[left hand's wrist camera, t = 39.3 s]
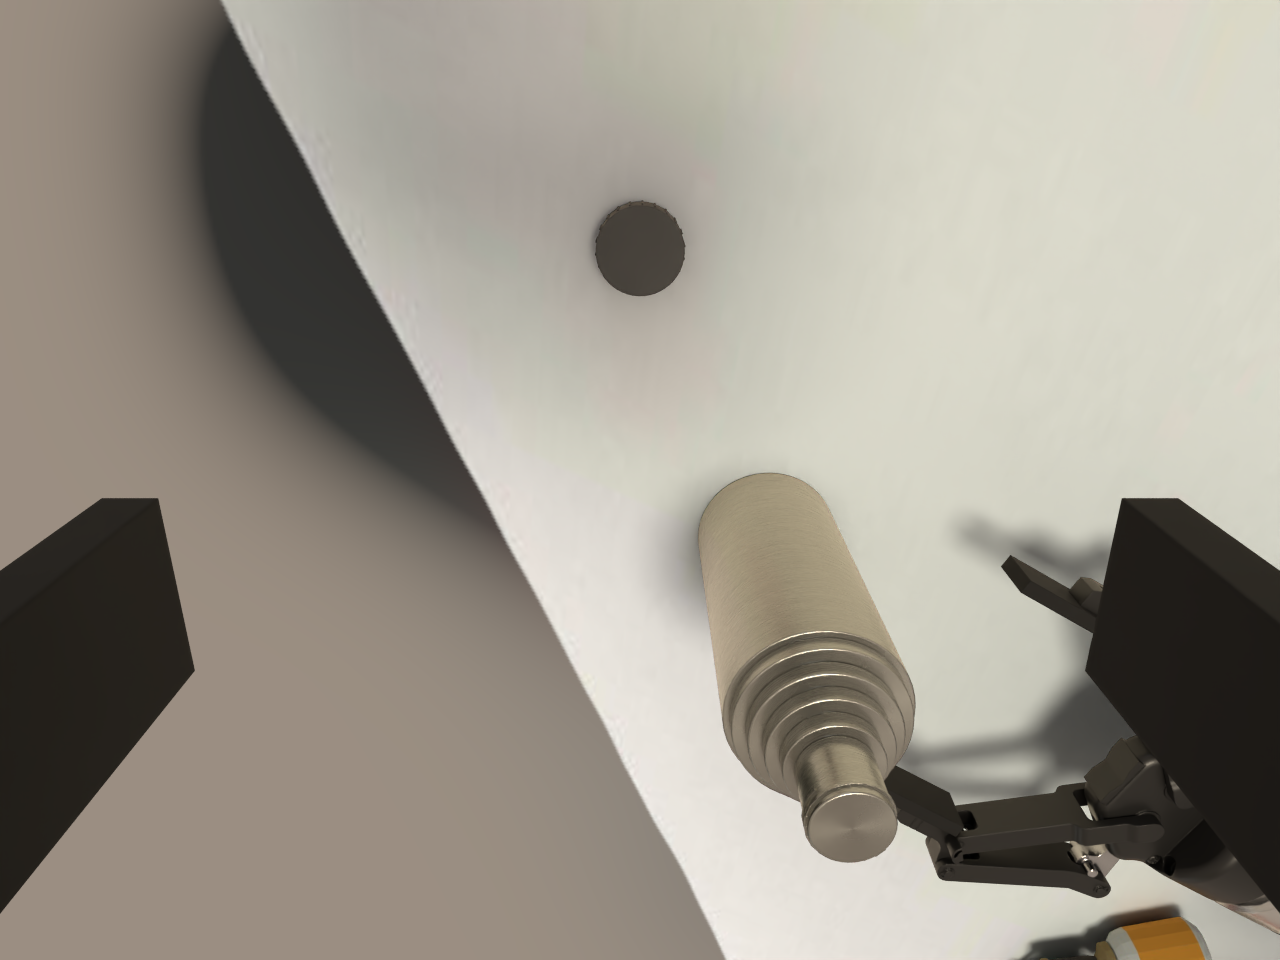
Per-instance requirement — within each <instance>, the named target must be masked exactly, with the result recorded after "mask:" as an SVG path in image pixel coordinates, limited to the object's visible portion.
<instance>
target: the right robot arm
mask: <svg viewBox="0 0 1280 960" xmlns="http://www.w3.org/2000/svg"><path fill="white" fill-rule="evenodd" d="M1001 567H1002V568H1003V570H1004V571H1005V572H1006V574H1007V575H1008V576H1009V578H1010V579H1011V580H1012V582H1013V583H1014V584H1015V586H1016V587H1017V588H1018V589H1019V591H1020V592H1021V593H1023V594H1024V595H1026V596H1028V597H1030V598H1031V599H1033V600H1035V601H1037V602H1039V603H1040V604H1042V605H1044V606H1046V607H1047V608H1049V609H1051V610H1053V611H1054V612H1056V613H1058V614H1060V615H1062V616H1063V617H1065V618H1067V619H1069V620H1070V621H1072V622H1074V623H1076V624H1077V625H1079V626H1081V627H1083V628H1085V629H1086V630H1088V631H1090V632H1092V633H1093V632H1094V627H1095V622H1096V618H1097V613H1098V608H1099V604H1100V599H1101V594H1102V590H1103V585H1102V584H1100V583H1098V582H1096V581H1095V580H1093V579H1091V578H1084V577H1080V579H1079V580H1078V581H1077V582H1076V583H1075V584H1074V586H1073V587H1072V588H1071V589H1069V588H1067V587H1065V586H1063V585H1062V584H1060V583H1058V582H1056V581H1055V580H1053V579H1051V578H1049V577H1048V576H1046V575H1044V574H1042V573H1041V572H1039V571H1037V570H1035V569H1034V568H1032V567H1030V566H1028V565H1027V564H1025V563H1023V562H1021V561H1020V560H1018V559H1016V558H1014V557H1013V556H1011V555H1010V556H1009V558H1008V559H1007V560H1006V561H1005V562H1004V564H1003V565H1002V566H1001ZM1084 778H1085V779H1086V781H1087V782H1084V783H1076V784H1069V785H1062V786H1059V787H1057V789H1056V792H1054V793H1049V794H1042V795H1034V796H1026V797H1019V798H1011V799H1003V800H995V801H988V802H980V803H972V804H964V805H957V806H955V805H954V802H953V800H952V798H951V795H950V793H949V792H947V791H945V790H943V789H941V788H939V787H937V786H935V785H933V784H931V783H929V782H927V781H925V780H923V779H921V778H919V777H917V776H915V775H913V774H911V773H909V772H907V771H905V770H903V769H901V768H899V767H897V766H895V767H894V768H893V769H892V771H891V772H890V773H889V775H888V777H887V778H886V779H885V780H884V783H885V786H886V789H887V791H888V794H889V795H890V796H891V797H892V799H893V801H894V803H895V805H896V810H897V819H898V820H899V822H900V823H902V824H904V825H906V826H908V827H910V828H912V829H914V830H916V831H918V832H920V833H922V834H924V835H926V836H927V838H926V846H927V848H928V851H929V854H930V856H931V859H932V862H933V864H934V867H935V870H936V873H937V875H938V877H939V878H940V879H942V880H945V881H959V882H976V883H992V884H1009V885H1026V886H1043V887H1060V888H1070V889H1072V890H1075V891H1078V892H1081V893H1083V894H1086V895H1089V896H1091V897H1095V898H1102V897H1104V896H1106V895H1108V894H1109V892H1110V891H1111V887H1110V885H1109V883H1108V882H1107V880H1106V878H1105V876H1106V875H1107V874H1108V872H1109V871H1110V870H1111V869H1112V868H1113V866H1114V865H1115V864H1116V863H1117V862H1118V860H1119V859H1123V860H1137V861H1142V862H1144V863H1146V864H1147V865H1149V866H1150V867H1152V868H1153V869H1155V870H1156V871H1158V872H1159V873H1161V874H1163V875H1164V876H1166V877H1168V878H1170V879H1172V880H1174V881H1175V882H1177V883H1179V884H1181V885H1183V886H1185V887H1187V888H1189V889H1191V890H1193V891H1195V892H1197V893H1199V894H1201V895H1203V896H1205V897H1207V898H1209V899H1211V900H1214V901H1215V902H1216V903H1218V904H1220V905H1222V906H1224V907H1226V908H1228V909H1230V910H1232V911H1234V912H1236V913H1238V914H1240V915H1242V916H1244V917H1246V918H1248V919H1250V920H1252V921H1254V922H1256V923H1258V924H1259V925H1261V926H1263V927H1265V928H1267V929H1269V930H1271V931H1273V932H1275V933H1277V934H1279V935H1280V913H1279V912H1278V911H1277V909H1276V908H1275V907H1274V906H1273V904H1272V903H1271V902H1270V901H1269V899H1268V898H1267V897H1266V896H1265V894H1264V893H1263V892H1262V891H1261V889H1260V888H1259V887H1258V886H1257V884H1256V883H1255V882H1254V881H1253V879H1252V878H1251V877H1250V876H1249V874H1248V873H1247V872H1246V871H1245V869H1244V868H1243V867H1242V866H1241V864H1240V863H1239V862H1238V861H1237V859H1236V858H1235V857H1234V856H1233V854H1232V853H1231V852H1230V851H1229V849H1228V848H1227V847H1226V846H1225V844H1224V843H1223V842H1222V841H1221V840H1220V838H1219V837H1218V836H1217V835H1216V833H1215V832H1214V831H1213V830H1212V828H1211V827H1210V826H1209V825H1208V823H1207V822H1206V821H1205V820H1204V818H1203V817H1202V816H1201V815H1200V813H1199V812H1198V811H1197V810H1196V808H1195V807H1194V806H1193V805H1192V803H1191V802H1190V801H1189V800H1188V798H1187V797H1186V796H1185V795H1184V793H1183V792H1182V791H1181V790H1180V788H1179V787H1178V786H1177V785H1176V783H1175V782H1174V781H1173V780H1172V778H1171V777H1170V776H1169V775H1168V773H1167V772H1166V771H1165V770H1164V768H1163V767H1162V766H1161V765H1160V763H1159V762H1158V761H1157V760H1156V758H1155V757H1154V756H1153V755H1152V753H1151V752H1150V751H1149V750H1148V748H1147V747H1146V746H1145V745H1144V743H1143V742H1142V741H1141V740H1140V738H1139V737H1138V736H1137V735H1136V736H1133V737H1131V738H1129V739H1127V740H1125V739H1123V738H1121V739H1120V740H1119V741H1118V742H1117V743H1116V744H1115V745H1114V746H1113V747H1112V749H1111V750H1110V752H1109V754H1108V756H1107V757H1106V759H1105V760H1104V761H1102V762H1101V763H1099V764H1098V765H1096V766H1095V767H1093V768H1092V769H1091V770H1090V771H1089V772H1088V773H1087V774H1086V775H1085V777H1084ZM1086 805H1088V807H1089V810H1090V813H1091V816H1092V819H1093V821H1092V820H1090V819H1088V818H1087V816H1086V815H1085V813H1084V812H1083V810H1082V808H1081V807H1080V806H1086ZM963 828H964V829H966V830H967V831H964V830H963ZM1066 841H1070V843H1066Z"/></svg>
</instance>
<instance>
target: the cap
mask: <svg viewBox="0 0 1280 960" xmlns="http://www.w3.org/2000/svg"><path fill="white" fill-rule="evenodd" d="M599 230H600V233H599V236H598V237H597V239H596V253H595V256H596V258H597V263H598V267H599V269H600V271H601V273H602V274H603V276H604V278H605V279H606V280H607V281H608V282H609V283H610V284H611V285H612V286H613V287H614V288H616V289H617V290H619V291H621V292H623V293H626V294H629V295H633V296H647V295H652V294H655V293H657V292H660V291H661V290H663V289H665V288H666V287H667V286H669V285H670V284H671V283H672V282H673V281H674V280H675V278H676V277H677V275H678V274H679V272H680V270H681V267H682V265H683V261H684V259H685V258H684V254H685V248H684V247H685V243H684V241H683V237H682V234H683V233H682V230H681V229H679V226H678V224H677V222H676V219H675V218H673V217H672V216H671V215H670V214H669V213H668V212H667V209H663V208H661V207H660V206H658V205H656V203H654V204H653V203H649V202H643V201H642V202H632V203H631V202H629V203H628V204H625V205H623V206H621V207H619V206H618V207H617V209H616V210H615V211H613V212H612V213H611V214H610V215H609V214H608V216H607V219H606V220H605V222H604V223H603V225H601V227H600V229H599Z"/></svg>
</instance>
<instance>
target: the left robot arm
mask: <svg viewBox="0 0 1280 960" xmlns="http://www.w3.org/2000/svg"><path fill="white" fill-rule="evenodd" d="M194 671H195V669H194V665H193V660H192V655H191V651H190V646H189V641H188V637H187V632H186V627H185V622H184V618H183V613H182V608H181V604H180V599H179V594H178V590H177V585H176V580H175V575H174V571H173V566H172V561H171V557H170V552H169V547H168V543H167V538H166V533H165V529H164V524H163V519H162V515H161V510H160V505H159V500H158V498H102V499H100V500H99V501H97V502H96V503H95V504H93V505H92V506H90V507H89V508H88V509H86V510H85V511H83V512H82V513H81V514H79V515H78V516H77V517H75V518H74V519H72V520H71V521H69V522H68V523H67V524H65V525H64V526H62V527H61V528H60V529H58V530H57V531H55V532H54V533H53V534H51V535H50V536H48V537H47V538H46V539H44V540H43V541H41V542H40V543H39V544H37V545H36V546H34V547H33V548H32V549H30V550H29V551H27V552H26V553H25V554H23V555H22V556H20V557H19V558H17V559H16V560H15V561H13V562H12V563H11V564H9V565H8V566H6V567H5V568H3V569H2V570H1V571H0V913H1V912H2V911H3V909H4V908H5V907H6V906H7V904H8V903H9V902H10V901H11V899H12V898H13V897H14V896H15V894H16V893H17V892H18V891H19V889H20V888H21V887H22V886H23V884H24V883H25V882H26V881H27V879H28V878H29V877H30V876H31V874H32V873H33V872H34V871H35V869H36V868H37V867H38V866H39V864H40V863H41V862H42V861H43V859H44V858H45V857H46V856H47V854H48V853H49V852H50V851H51V849H52V848H53V847H54V846H55V844H56V843H57V842H58V841H59V839H60V838H61V837H62V836H63V835H64V833H65V832H66V831H67V830H68V828H69V827H70V826H71V824H72V823H73V822H74V821H75V820H76V818H77V817H78V816H79V814H80V813H81V812H82V811H83V810H84V808H85V807H86V806H87V805H88V803H89V802H90V801H91V800H92V798H93V797H94V796H95V795H96V793H97V792H98V791H99V789H100V788H101V787H102V786H103V785H104V783H105V782H106V781H107V780H108V778H109V777H110V776H111V775H112V773H113V772H114V771H115V770H116V768H117V767H118V766H119V765H120V763H121V762H122V761H123V760H124V758H125V757H126V756H127V755H128V753H129V752H130V751H131V750H132V748H133V747H134V746H135V745H136V743H137V742H138V741H139V740H140V738H141V737H142V736H143V735H144V733H145V732H146V731H147V730H148V728H149V727H150V726H151V725H152V723H153V722H154V721H155V720H156V718H157V717H158V716H159V715H160V713H161V712H162V711H163V710H164V708H165V707H166V706H167V705H168V703H169V702H170V701H171V700H172V698H173V697H174V696H175V695H176V693H177V692H178V691H179V690H180V688H181V687H182V686H183V685H184V683H185V682H186V681H187V680H188V678H189V677H190V676H191V675H192V673H193V672H194ZM1085 671H1086V672H1087V673H1088V675H1089V676H1090V677H1091V678H1092V680H1093V681H1094V682H1095V683H1096V685H1097V686H1098V687H1099V688H1100V690H1101V691H1102V692H1103V693H1104V695H1105V696H1106V697H1107V698H1108V700H1109V701H1110V702H1111V703H1112V705H1113V706H1114V707H1115V708H1116V710H1117V711H1118V712H1119V713H1120V715H1121V716H1122V717H1123V718H1124V720H1125V721H1126V722H1127V723H1128V725H1129V726H1130V727H1131V728H1132V730H1133V731H1134V732H1135V733H1136V735H1137V736H1138V737H1139V738H1140V740H1141V741H1142V742H1143V743H1144V745H1145V746H1146V747H1147V748H1148V750H1149V751H1150V752H1151V753H1152V755H1153V756H1154V757H1155V758H1156V760H1157V761H1158V762H1159V763H1160V765H1161V766H1162V767H1163V768H1164V770H1165V771H1166V772H1167V773H1168V775H1169V776H1170V777H1171V778H1172V780H1173V781H1174V782H1175V783H1176V785H1177V786H1178V787H1179V788H1180V790H1181V791H1182V792H1183V793H1184V795H1185V796H1186V797H1187V798H1188V800H1189V801H1190V802H1191V803H1192V805H1193V806H1194V807H1195V808H1196V810H1197V811H1198V812H1199V813H1200V815H1201V816H1202V817H1203V818H1204V820H1205V821H1206V822H1207V823H1208V825H1209V826H1210V827H1211V828H1212V830H1213V831H1214V832H1215V833H1216V835H1217V836H1218V837H1219V838H1220V840H1221V841H1222V842H1223V843H1224V844H1225V846H1226V847H1227V848H1228V849H1229V851H1230V852H1231V853H1232V854H1233V856H1234V857H1235V858H1236V859H1237V861H1238V862H1239V863H1240V864H1241V866H1242V867H1243V868H1244V869H1245V871H1246V872H1247V873H1248V874H1249V876H1250V877H1251V878H1252V879H1253V881H1254V882H1255V883H1256V884H1257V886H1258V887H1259V888H1260V889H1261V891H1262V892H1263V893H1264V894H1265V896H1266V897H1267V898H1268V899H1269V901H1270V902H1271V903H1272V904H1273V906H1274V907H1275V908H1276V909H1277V911H1278V912H1279V913H1280V571H1279V570H1278V569H1277V568H1275V567H1274V566H1272V565H1271V564H1270V563H1268V562H1267V561H1265V560H1264V559H1263V558H1261V557H1260V556H1258V555H1257V554H1256V553H1254V552H1253V551H1251V550H1250V549H1248V548H1247V547H1246V546H1244V545H1243V544H1241V543H1240V542H1239V541H1237V540H1236V539H1234V538H1233V537H1232V536H1230V535H1229V534H1227V533H1226V532H1225V531H1223V530H1222V529H1220V528H1219V527H1218V526H1216V525H1215V524H1213V523H1212V522H1211V521H1209V520H1208V519H1206V518H1205V517H1204V516H1202V515H1201V514H1199V513H1198V512H1197V511H1195V510H1194V509H1192V508H1191V507H1190V506H1188V505H1187V504H1185V503H1184V502H1183V501H1181V500H1180V499H1178V498H1122V500H1121V505H1120V510H1119V514H1118V519H1117V524H1116V528H1115V533H1114V538H1113V543H1112V547H1111V552H1110V557H1109V561H1108V566H1107V571H1106V575H1105V580H1104V585H1103V590H1102V594H1101V599H1100V604H1099V608H1098V613H1097V618H1096V622H1095V627H1094V632H1093V637H1092V641H1091V646H1090V651H1089V655H1088V660H1087V665H1086V669H1085Z"/></svg>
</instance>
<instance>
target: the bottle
mask: <svg viewBox="0 0 1280 960" xmlns="http://www.w3.org/2000/svg"><path fill="white" fill-rule="evenodd" d="M698 544H699V552H700V559H701V567H702V574H703V581H704V589H705V596H706V603H707V611H708V618H709V625H710V633H711V640H712V647H713V655H714V662H715V669H716V677H717V684H718V691H719V699H720V706H721V713H722V721H723V728H724V733H725V736H726V739H727V742H728V744H729V746H730V748H731V750H732V751H733V753H734V754H735V756H736V757H737V758H738V760H739V761H740V762H741V763H742V765H743V766H744V768H745V769H746V770H747V771H748V772H749V773H750V774H751V775H752V776H753V777H754V778H755V779H756V780H758V781H759V782H760V783H761V784H763V785H765V786H766V787H768V788H770V789H772V790H774V791H776V792H778V793H781V794H783V795H786V796H788V797H790V798H792V799H794V800H797V801H799V802H801V806H802V815H801V816H802V821H803V826H804V830H805V835H806V838H807V839H808V841H809V843H810V844H811V846H812V847H813V848H814V849H816V850H817V851H818V852H819V853H820V854H822V855H823V856H825V857H827V858H829V859H831V860H835V861H839V862H847V863H848V862H860V861H865V860H867V859H870V858H872V857H876V856H878V855H879V854H880V853H882V852H883V851H885V850H886V848H887V847H888V846H889V845H890V844H891V842H892V841H893V839H894V837H895V835H896V831H897V825H898V823H897V810H896V805H895V803H894V801H893V799H892V797H891V796H890V795H889V794H888V791H887V789H886V786H885V783H884V780H885V779H886V778H887V777H888V775H889V773H890V772H891V771H892V769H893V768H894V767H895V765H896V764H897V763H898V761H899V760H900V759H901V757H902V756H903V754H904V753H905V751H906V749H907V747H908V745H909V742H910V740H911V736H912V732H913V727H914V715H915V694H914V689H913V685H912V683H911V680H910V678H909V675H908V673H907V671H906V669H905V667H904V665H903V663H902V661H901V658H900V656H899V654H898V652H897V650H896V648H895V646H894V644H893V642H892V640H891V638H890V635H889V633H888V631H887V629H886V627H885V625H884V623H883V621H882V619H881V617H880V615H879V613H878V610H877V608H876V606H875V604H874V602H873V600H872V598H871V596H870V594H869V592H868V590H867V587H866V585H865V583H864V581H863V579H862V577H861V575H860V573H859V571H858V569H857V567H856V565H855V562H854V560H853V558H852V556H851V554H850V552H849V550H848V548H847V546H846V544H845V542H844V539H843V537H842V535H841V533H840V531H839V529H838V527H837V525H836V523H835V521H834V519H833V516H832V514H831V512H830V510H829V508H828V506H827V505H826V503H825V501H824V500H823V498H822V497H821V496H820V495H819V494H818V493H817V492H816V491H815V490H814V489H813V488H812V487H810V486H809V485H808V484H806V483H805V482H803V481H801V480H799V479H796V478H794V477H791V476H787V475H783V474H775V473H763V474H756V475H751V476H747V477H744V478H742V479H739V480H737V481H735V482H733V483H731V484H730V485H728V486H727V487H725V488H724V489H722V490H721V491H720V492H719V493H718V494H717V495H716V496H715V497H714V498H713V499H712V501H711V502H710V503H709V505H708V506H707V508H706V509H705V511H704V514H703V516H702V518H701V522H700V525H699V531H698Z"/></svg>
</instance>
